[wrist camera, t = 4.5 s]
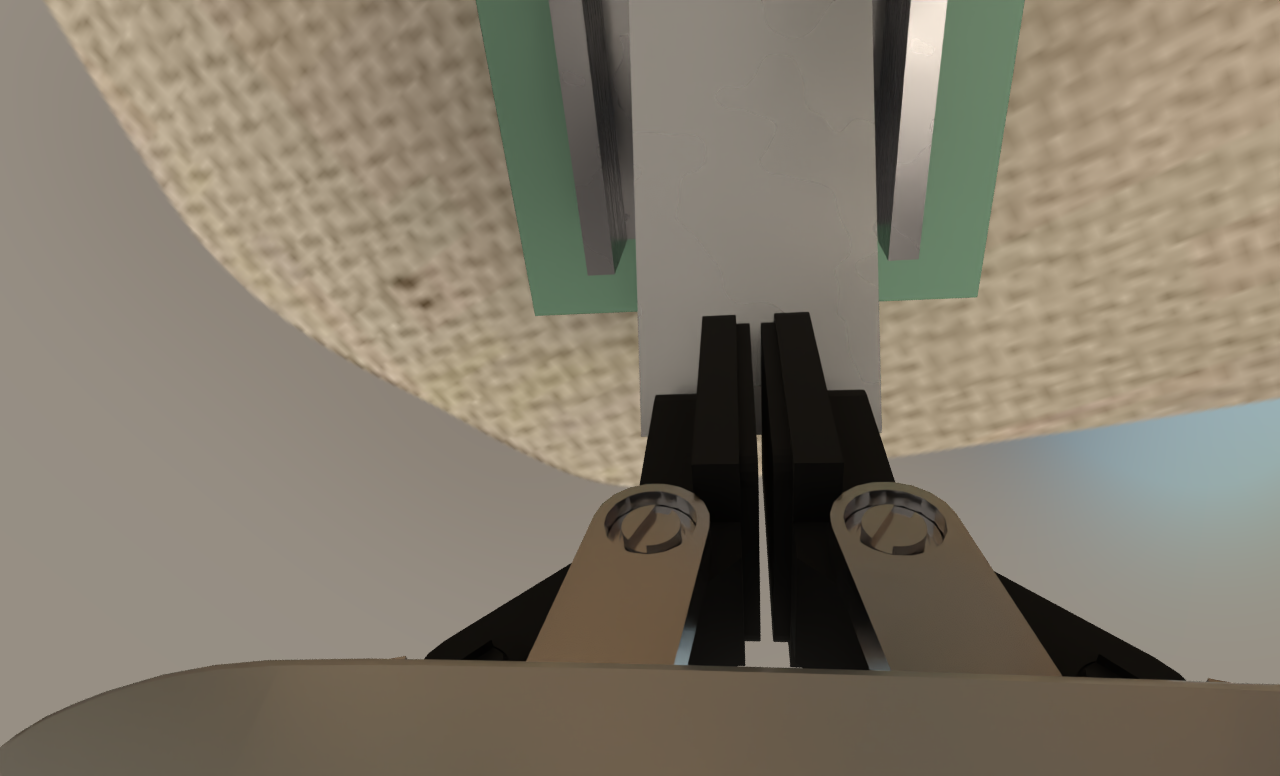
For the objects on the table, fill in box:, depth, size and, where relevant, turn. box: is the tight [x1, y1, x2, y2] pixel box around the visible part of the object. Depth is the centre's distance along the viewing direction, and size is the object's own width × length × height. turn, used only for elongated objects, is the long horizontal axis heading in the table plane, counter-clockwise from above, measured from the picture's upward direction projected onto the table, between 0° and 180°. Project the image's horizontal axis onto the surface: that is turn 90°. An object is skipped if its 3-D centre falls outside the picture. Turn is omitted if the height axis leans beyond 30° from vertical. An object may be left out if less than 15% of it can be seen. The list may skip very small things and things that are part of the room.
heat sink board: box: [476, 0, 1025, 316], centre depth 19 cm, size 20×16×8 cm
